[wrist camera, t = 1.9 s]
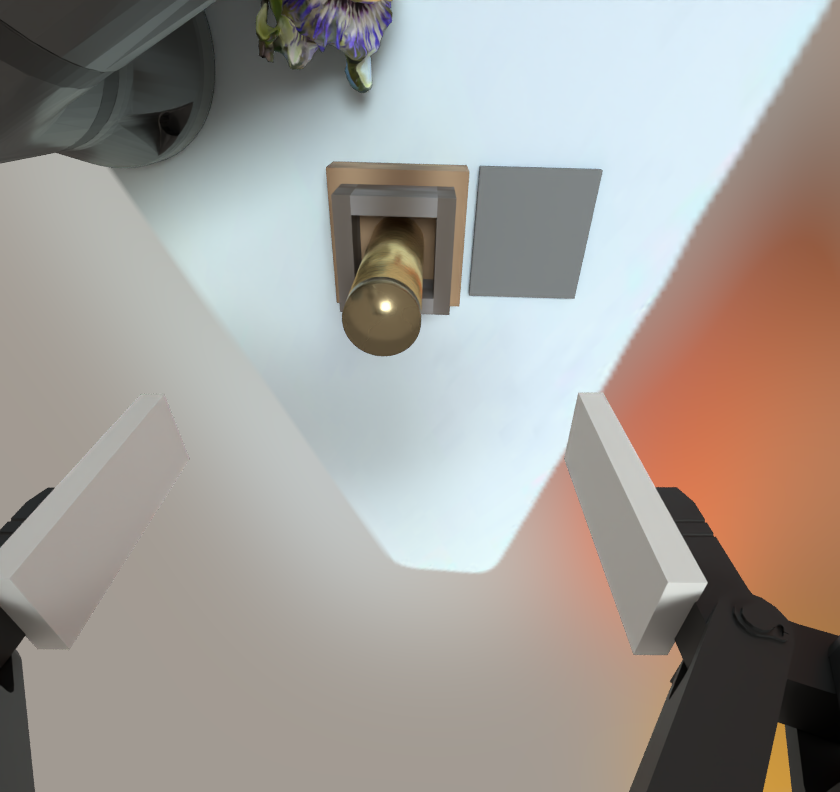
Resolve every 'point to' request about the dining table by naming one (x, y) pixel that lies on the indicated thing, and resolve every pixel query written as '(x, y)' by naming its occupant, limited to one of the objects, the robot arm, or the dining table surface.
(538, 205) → the rubber pad
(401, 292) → the brass cylinder
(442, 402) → the dining table surface
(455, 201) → the open box with base
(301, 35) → the passion flower
